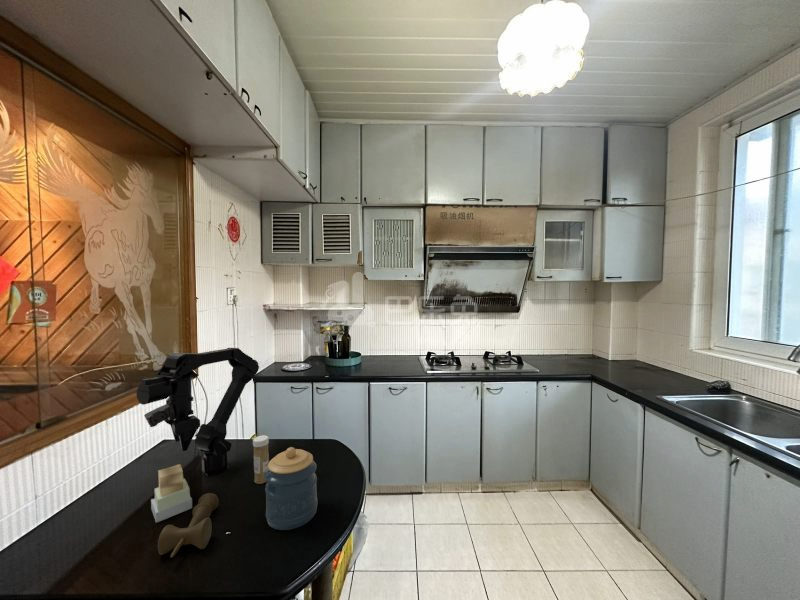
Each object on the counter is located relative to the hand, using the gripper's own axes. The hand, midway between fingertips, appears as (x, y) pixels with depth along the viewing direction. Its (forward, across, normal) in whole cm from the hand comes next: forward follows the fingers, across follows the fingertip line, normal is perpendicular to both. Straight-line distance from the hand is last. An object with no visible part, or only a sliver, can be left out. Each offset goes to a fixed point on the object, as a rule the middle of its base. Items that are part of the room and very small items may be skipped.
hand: (180, 446), depth 98 cm
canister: (+13, +36, +18) cm, 42 cm away
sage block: (+11, +9, -4) cm, 14 cm away
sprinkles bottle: (+13, +14, +19) cm, 27 cm away
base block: (+14, +9, -4) cm, 17 cm away
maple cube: (+8, +9, -4) cm, 12 cm away
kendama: (+14, +25, -3) cm, 29 cm away
